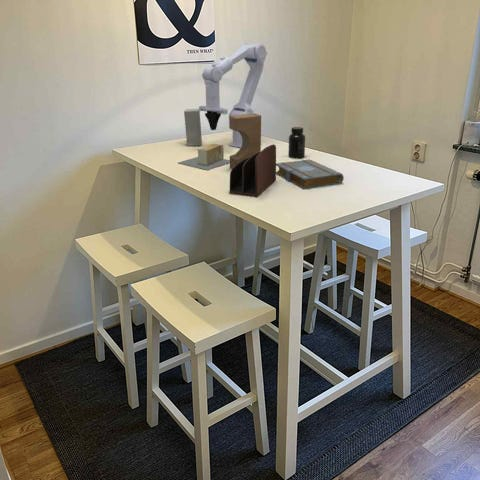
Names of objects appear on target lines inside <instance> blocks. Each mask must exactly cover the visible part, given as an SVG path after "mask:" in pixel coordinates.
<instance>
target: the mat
mask: <svg viewBox="0 0 480 480" xmlns="http://www.w3.org/2000/svg"><path fill="white" fill-rule="evenodd" d="M177 164H178V165H183V166H188V167H190V168H196V169H200V170H203V171H209V170H213V169H215V168H219V167H222V166H225V164H226V165H230V159H225V158H223V159H222V160H219V161H217V162H214V163H212V164H209V165H201V164H198V156H197V157H192V158H189V159H186V160H182V161H179V162H177Z"/></svg>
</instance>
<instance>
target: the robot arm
mask: <svg viewBox="0 0 480 480" xmlns="http://www.w3.org/2000/svg"><path fill="white" fill-rule="evenodd" d="M267 55H268V52H267V49H266V46H265V45H264V44H263V43H248V42H247V43H244V44H242V45H240V47H239V48H238V50H236V51H234V52H233V53H232V54H231V55H230V56H229V57H227V56H221V57H220V58H219V60H217V61H216V62H213V63H212V64H211V66H209V65H208V66H206V67H205V68H204V69H203V72H202V73H201V76H202V79H203V80H204V85H205V105H199V106H198V109H199V111H200V112H205V113H204V116H205V117H206V120H207V122H208V124H209V125H208V126H209V128H210V130H211V131H216V130H217V128H218V127H217V126H218V123H219V120H220V118H221V115H228V117H229V116H231V115H241V114H252V113H254V110H253V109H252V106H251V105H252V102H253V99H254V96H255V94H256V90H257V88H258V84H259V83H260V78H261V75H262V73H263V71H264V62H265V60H266V57H267ZM242 60H244V61H245V62H246V64H247V65H248V66H249V71H248V73H247V77H246V79H245V82H244V86H243V88H242V91H241V95H240V97H239V100H238V102H237V103H235V104H234V105H233V107H232V109H231V110H230V112H229V113H228V109H227V108H223V107H221V106H220V102H221V101H220V97H221V96H220V81H221V80H222V78H223V76H225V75H226V74H227V73H228V72H230V71H231V70H232V69H233V65H235V64H238V62H240V61H242ZM228 146H230V147H235V148H239V149H240V148H241V146H242V136H241V135H240V133H239V132H238V131H235V130H232V142H231V143H228Z"/></svg>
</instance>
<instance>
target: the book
mask: <svg viewBox="0 0 480 480" xmlns="http://www.w3.org/2000/svg"><path fill="white" fill-rule="evenodd" d="M276 167H278V171H277V170H276V176H278V177H280V178H283V179H284V180H285V181H286V182H288V183H291V184H293V185H295V186H296V187H298V188H300V189H302V190H308V189H315V188H322V187H329V186H337V185H341V184H342V183H343V181H344V180H345V179H344V178H345V177H344V175H343V173H341V172H339V171H337V170H335V169H332V168H330V167H328V166H325V165H323V164H321V163H319V162H317V161H314V160H313V159H302V160H295V161H294V160H293V161H286V162H276Z"/></svg>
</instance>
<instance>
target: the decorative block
mask: <svg viewBox="0 0 480 480" xmlns="http://www.w3.org/2000/svg"><path fill="white" fill-rule="evenodd" d="M228 120H229V121H228V122H229V123H228V126H229V127H228V128H229V129H230V130H232V131H233V130H235V131H238V132H239V133H240V135H241V136H242V146H241V148H240V147H239V149H238V150H237V152H236V153H233V154H231V155H229V160H230V163H229V168H230V169H231V170H232V168H233V167H234V166H235V165H237V164H238V163H239V162H241V161H242V160H244V159H246V158H248V157H251V156H253V155H254V154H256V153H258V152H261V151H262V150H261V149H262V148H261V147H262V115H260V114H257V113H254V112H253V113H252V114H241V115H231V116H229V115H228Z"/></svg>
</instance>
